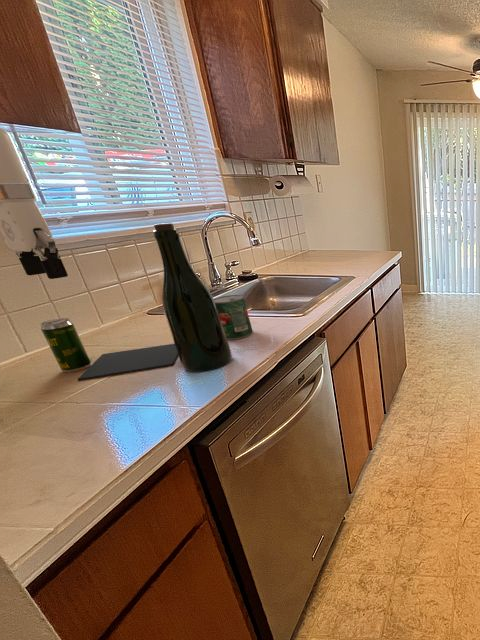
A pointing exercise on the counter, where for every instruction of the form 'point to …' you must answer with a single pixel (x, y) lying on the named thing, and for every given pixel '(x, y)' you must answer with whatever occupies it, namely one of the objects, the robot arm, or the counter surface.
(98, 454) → the counter surface
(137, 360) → the rubber mat
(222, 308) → the canned tomato
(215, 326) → the green wine bottle
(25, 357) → the counter surface
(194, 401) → the counter surface
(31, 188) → the robot arm
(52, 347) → the beer can
